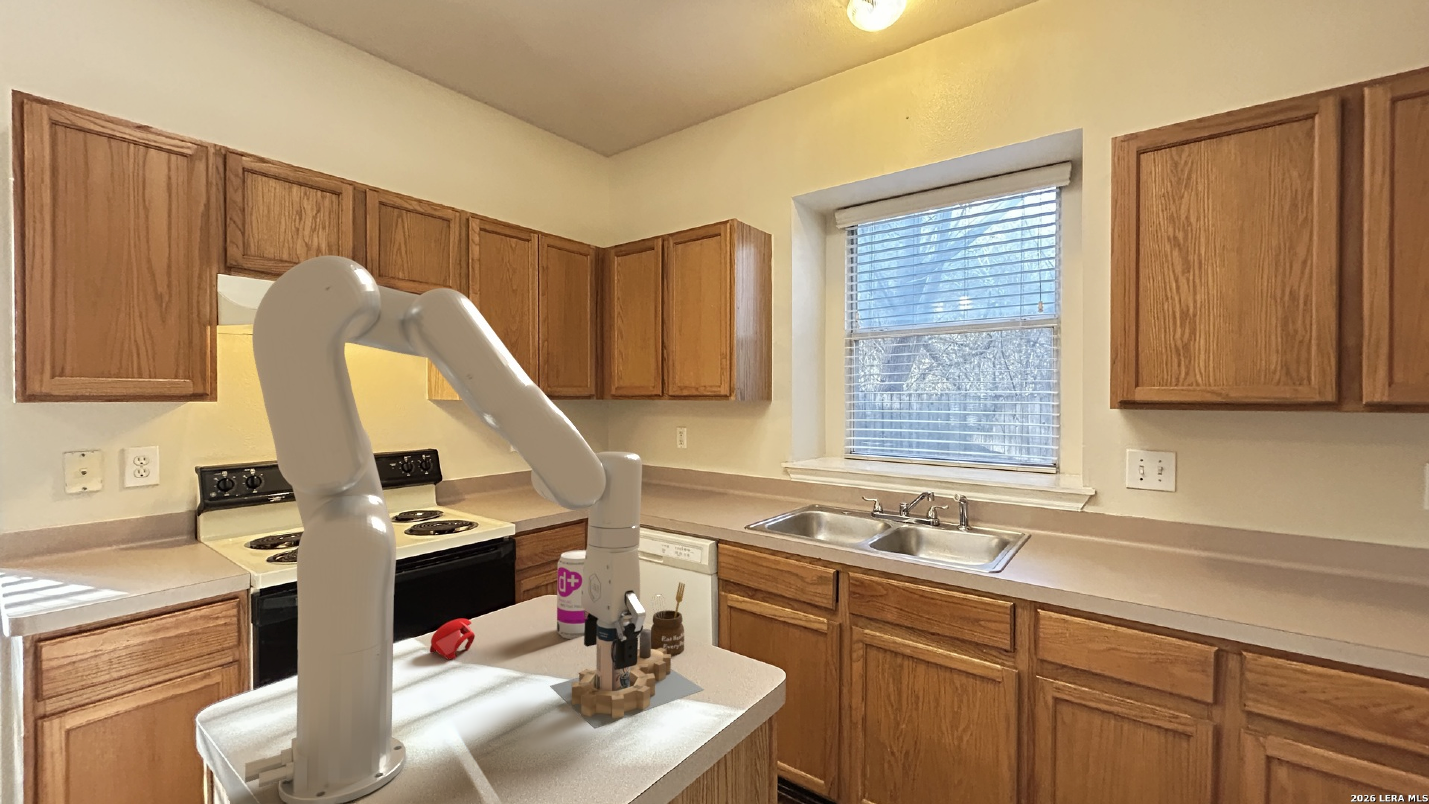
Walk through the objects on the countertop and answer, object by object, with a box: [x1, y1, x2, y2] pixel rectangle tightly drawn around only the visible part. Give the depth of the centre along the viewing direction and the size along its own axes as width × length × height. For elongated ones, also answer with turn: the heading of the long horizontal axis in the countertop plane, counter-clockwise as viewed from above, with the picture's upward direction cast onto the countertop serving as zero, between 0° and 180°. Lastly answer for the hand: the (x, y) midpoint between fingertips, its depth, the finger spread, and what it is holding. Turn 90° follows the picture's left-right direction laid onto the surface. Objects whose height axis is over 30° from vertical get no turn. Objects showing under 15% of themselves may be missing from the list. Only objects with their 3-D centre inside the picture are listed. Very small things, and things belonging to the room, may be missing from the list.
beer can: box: [595, 614, 630, 691], centre depth 87 cm, size 5×5×12 cm
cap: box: [429, 618, 476, 660], centre depth 104 cm, size 8×6×6 cm
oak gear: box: [572, 664, 655, 718], centre depth 87 cm, size 12×12×2 cm
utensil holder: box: [650, 581, 686, 657], centre depth 104 cm, size 6×6×12 cm
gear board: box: [549, 668, 705, 729], centre depth 90 cm, size 18×15×1 cm
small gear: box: [637, 628, 672, 681], centre depth 95 cm, size 8×8×6 cm
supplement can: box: [556, 549, 588, 640], centre depth 115 cm, size 8×8×15 cm
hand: (609, 655), depth 86 cm, fingers open, 9 cm apart
